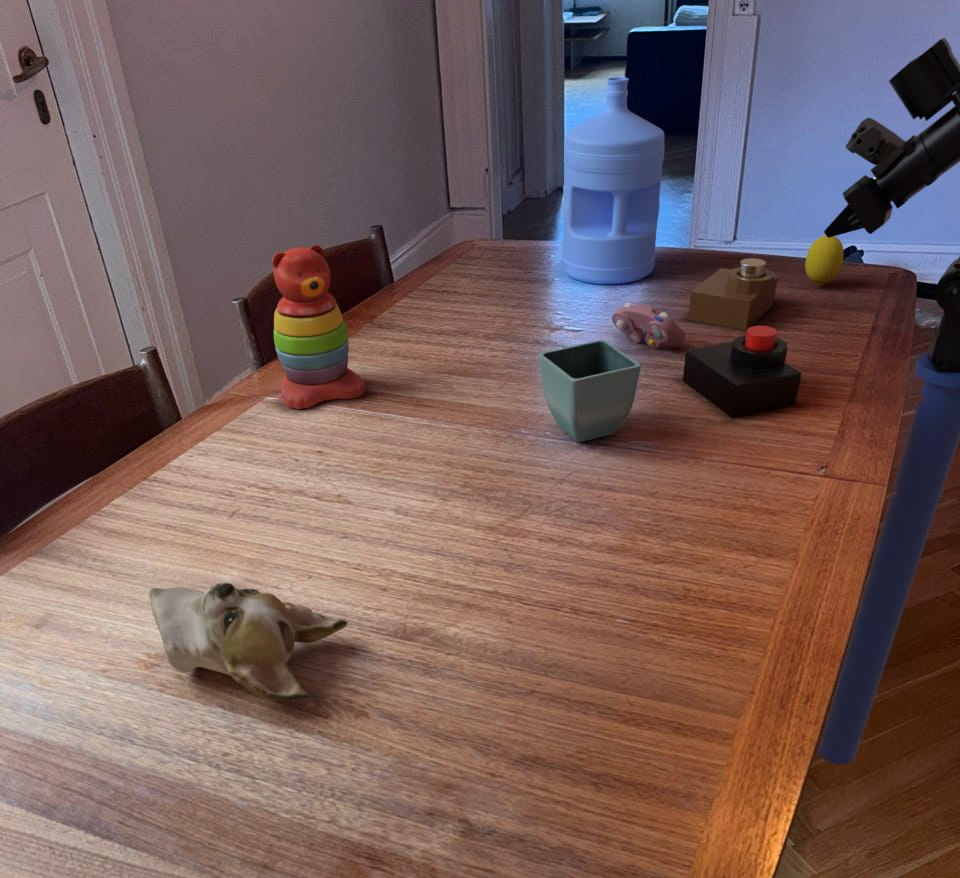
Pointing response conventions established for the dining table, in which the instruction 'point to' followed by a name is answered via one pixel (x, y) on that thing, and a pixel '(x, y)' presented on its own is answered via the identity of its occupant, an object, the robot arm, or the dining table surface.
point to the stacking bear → (310, 332)
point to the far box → (732, 299)
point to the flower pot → (589, 388)
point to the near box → (742, 377)
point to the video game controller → (648, 325)
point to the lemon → (824, 259)
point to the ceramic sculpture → (238, 635)
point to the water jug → (611, 193)
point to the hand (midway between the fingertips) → (826, 234)
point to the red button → (761, 338)
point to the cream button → (752, 268)
